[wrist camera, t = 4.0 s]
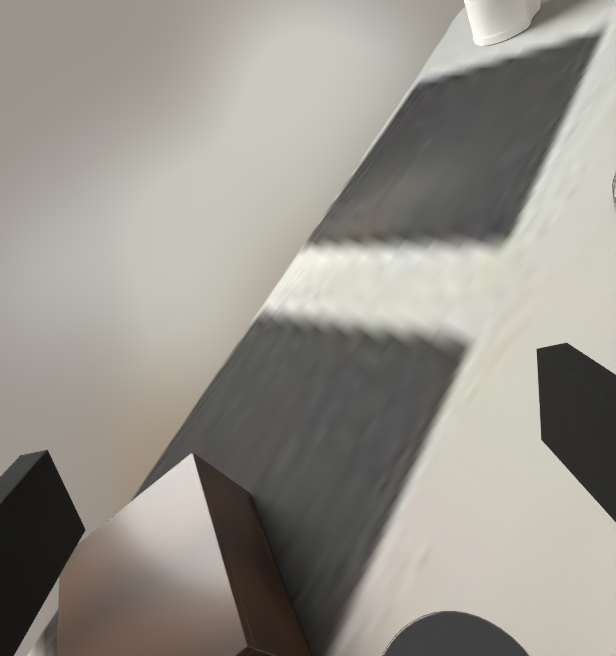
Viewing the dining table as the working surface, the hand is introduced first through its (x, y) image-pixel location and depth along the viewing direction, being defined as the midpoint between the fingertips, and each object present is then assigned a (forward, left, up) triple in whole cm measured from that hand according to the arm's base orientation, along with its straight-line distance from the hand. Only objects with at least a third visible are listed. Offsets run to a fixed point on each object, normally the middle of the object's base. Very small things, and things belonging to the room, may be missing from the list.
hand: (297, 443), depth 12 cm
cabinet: (+19, -14, -26) cm, 35 cm away
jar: (-65, -69, -26) cm, 98 cm away
